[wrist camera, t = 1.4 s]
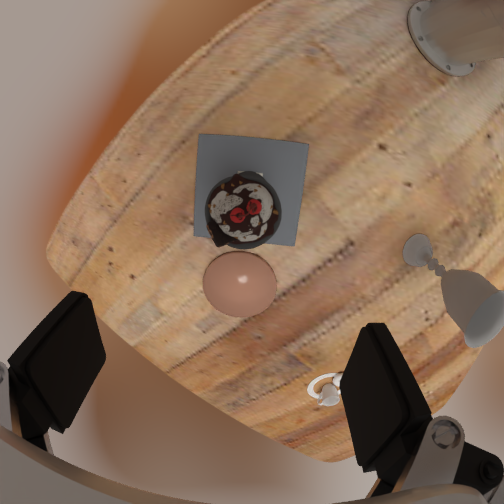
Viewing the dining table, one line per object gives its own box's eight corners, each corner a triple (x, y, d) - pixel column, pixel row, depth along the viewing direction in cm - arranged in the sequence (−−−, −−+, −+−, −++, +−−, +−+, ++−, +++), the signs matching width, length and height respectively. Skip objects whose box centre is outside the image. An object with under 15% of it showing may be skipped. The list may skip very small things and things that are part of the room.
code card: (199, 133, 31) (198, 133, 30) (308, 144, 31) (308, 144, 31) (193, 235, 36) (193, 236, 36) (294, 245, 36) (294, 246, 36)
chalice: (389, 265, 36) (452, 347, 20) (406, 221, 34) (488, 285, 17) (425, 275, 37) (489, 348, 20) (442, 235, 34) (520, 295, 18)
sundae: (274, 161, 32) (284, 180, 18) (277, 216, 34) (286, 272, 20) (218, 165, 32) (185, 186, 18) (223, 219, 35) (198, 275, 21)
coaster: (204, 247, 36) (203, 249, 36) (281, 255, 36) (281, 257, 36) (203, 310, 40) (202, 313, 40) (271, 317, 40) (271, 320, 40)
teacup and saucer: (348, 364, 45) (353, 380, 41) (354, 388, 48) (358, 403, 44) (302, 378, 46) (304, 395, 43) (312, 401, 49) (314, 416, 45)
